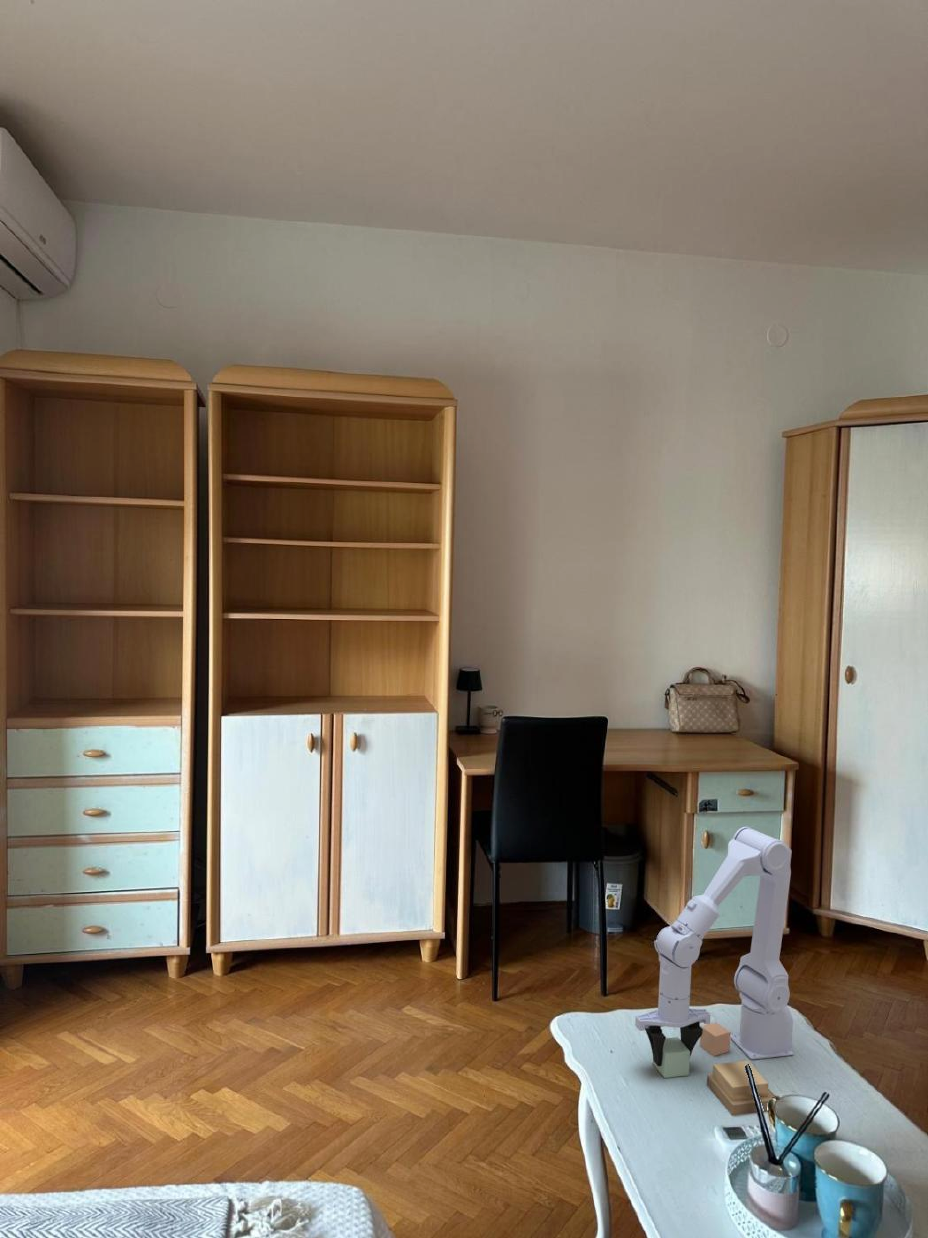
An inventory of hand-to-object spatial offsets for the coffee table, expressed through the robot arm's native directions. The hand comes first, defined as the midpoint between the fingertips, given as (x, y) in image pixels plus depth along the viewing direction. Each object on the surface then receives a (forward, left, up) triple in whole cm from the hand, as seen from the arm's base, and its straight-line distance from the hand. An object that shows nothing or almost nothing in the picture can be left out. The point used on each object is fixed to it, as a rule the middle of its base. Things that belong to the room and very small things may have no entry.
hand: (670, 1061), depth 164 cm
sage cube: (0, 0, -1) cm, 1 cm away
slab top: (-9, +10, 0) cm, 13 cm away
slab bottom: (-9, +10, -2) cm, 14 cm away
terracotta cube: (-12, -5, -2) cm, 13 cm away
